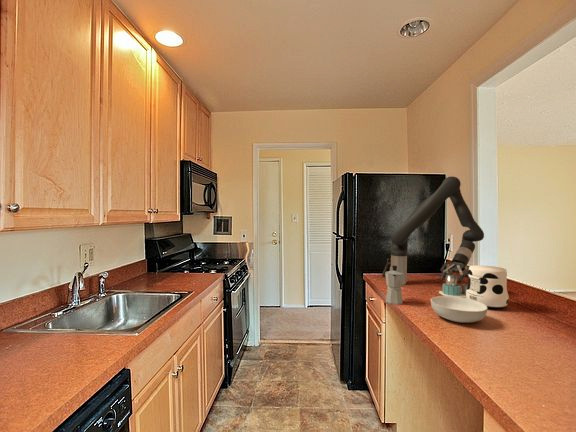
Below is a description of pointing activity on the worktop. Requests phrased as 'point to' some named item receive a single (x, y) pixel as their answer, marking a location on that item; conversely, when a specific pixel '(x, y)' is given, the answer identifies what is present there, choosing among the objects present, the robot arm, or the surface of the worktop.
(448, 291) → the fitting plate
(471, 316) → the serving bowl
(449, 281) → the salt shaker
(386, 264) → the door stopper
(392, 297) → the coffee maker
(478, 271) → the milk container
